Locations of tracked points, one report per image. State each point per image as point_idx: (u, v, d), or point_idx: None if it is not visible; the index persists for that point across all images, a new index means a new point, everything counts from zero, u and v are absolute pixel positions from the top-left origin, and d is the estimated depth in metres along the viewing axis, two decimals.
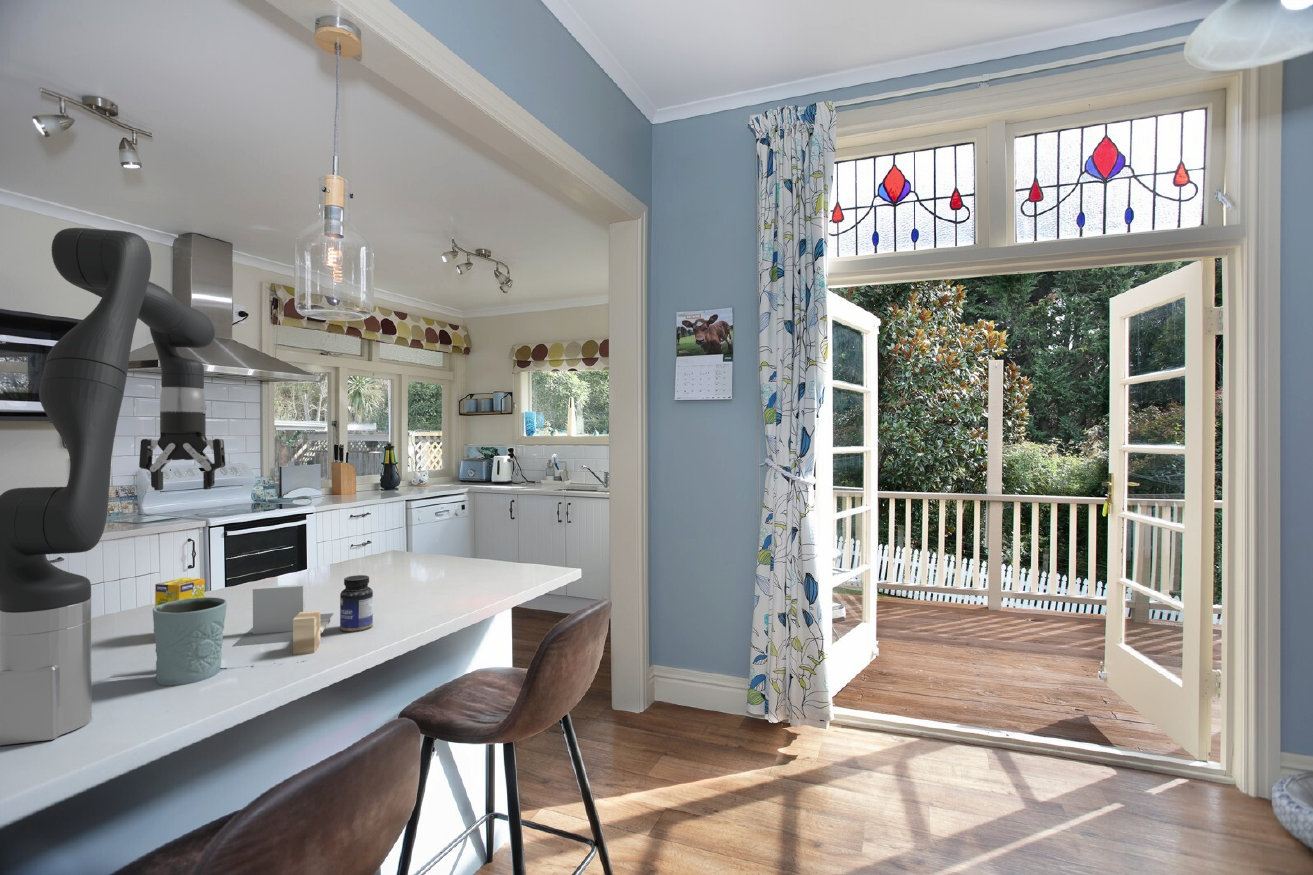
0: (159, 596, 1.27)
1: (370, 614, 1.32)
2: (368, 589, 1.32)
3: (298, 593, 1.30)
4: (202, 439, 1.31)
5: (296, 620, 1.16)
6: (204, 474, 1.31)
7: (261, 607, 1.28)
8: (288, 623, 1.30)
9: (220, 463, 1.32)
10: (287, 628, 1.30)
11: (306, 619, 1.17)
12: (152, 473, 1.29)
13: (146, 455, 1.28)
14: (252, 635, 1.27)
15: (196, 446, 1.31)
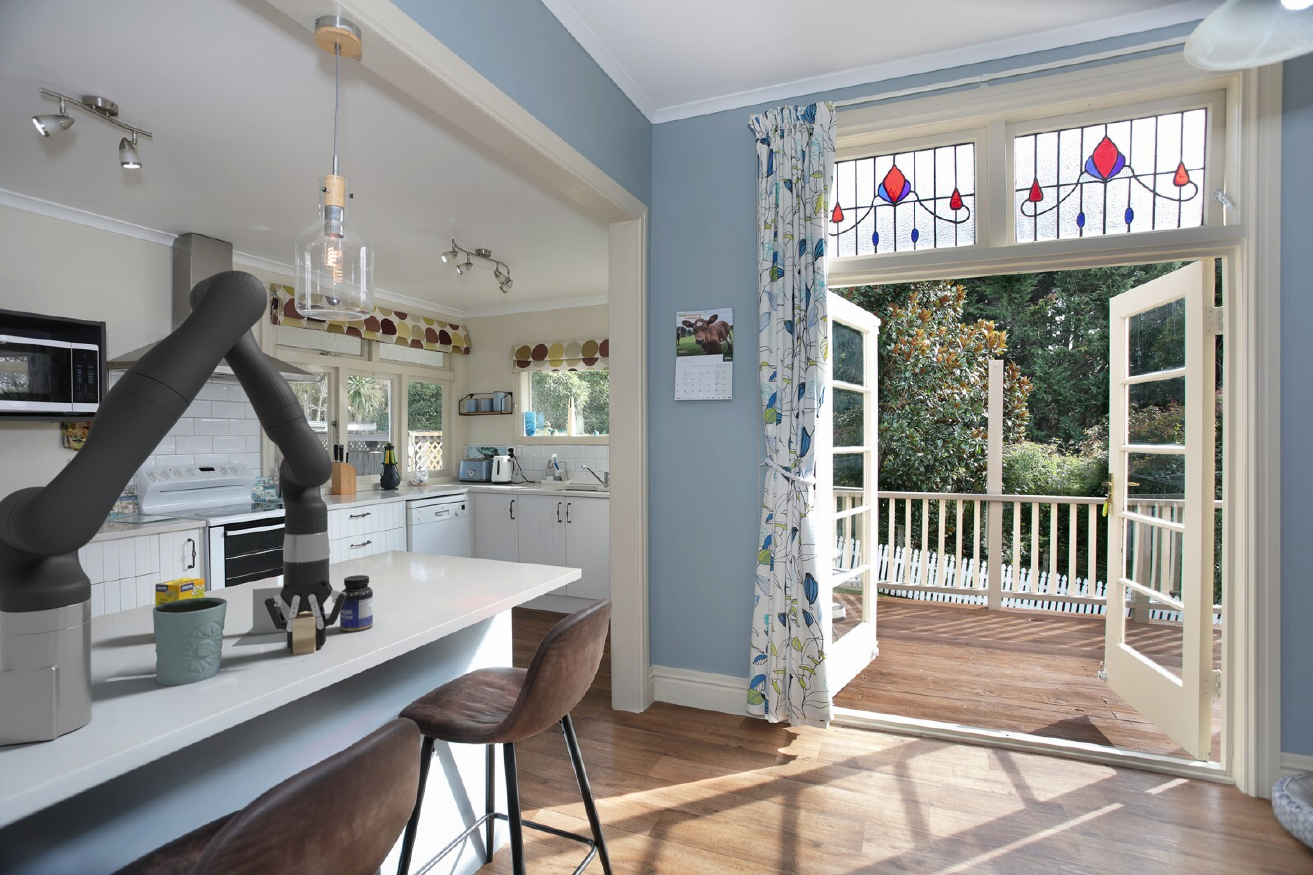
0: (159, 596, 1.27)
1: (370, 614, 1.32)
2: (368, 589, 1.32)
3: None
4: (329, 590, 1.19)
5: (296, 620, 1.16)
6: (316, 633, 1.18)
7: (261, 607, 1.28)
8: None
9: (333, 620, 1.19)
10: None
11: (306, 619, 1.17)
12: (288, 633, 1.17)
13: (277, 614, 1.17)
14: (252, 635, 1.27)
15: (320, 599, 1.19)
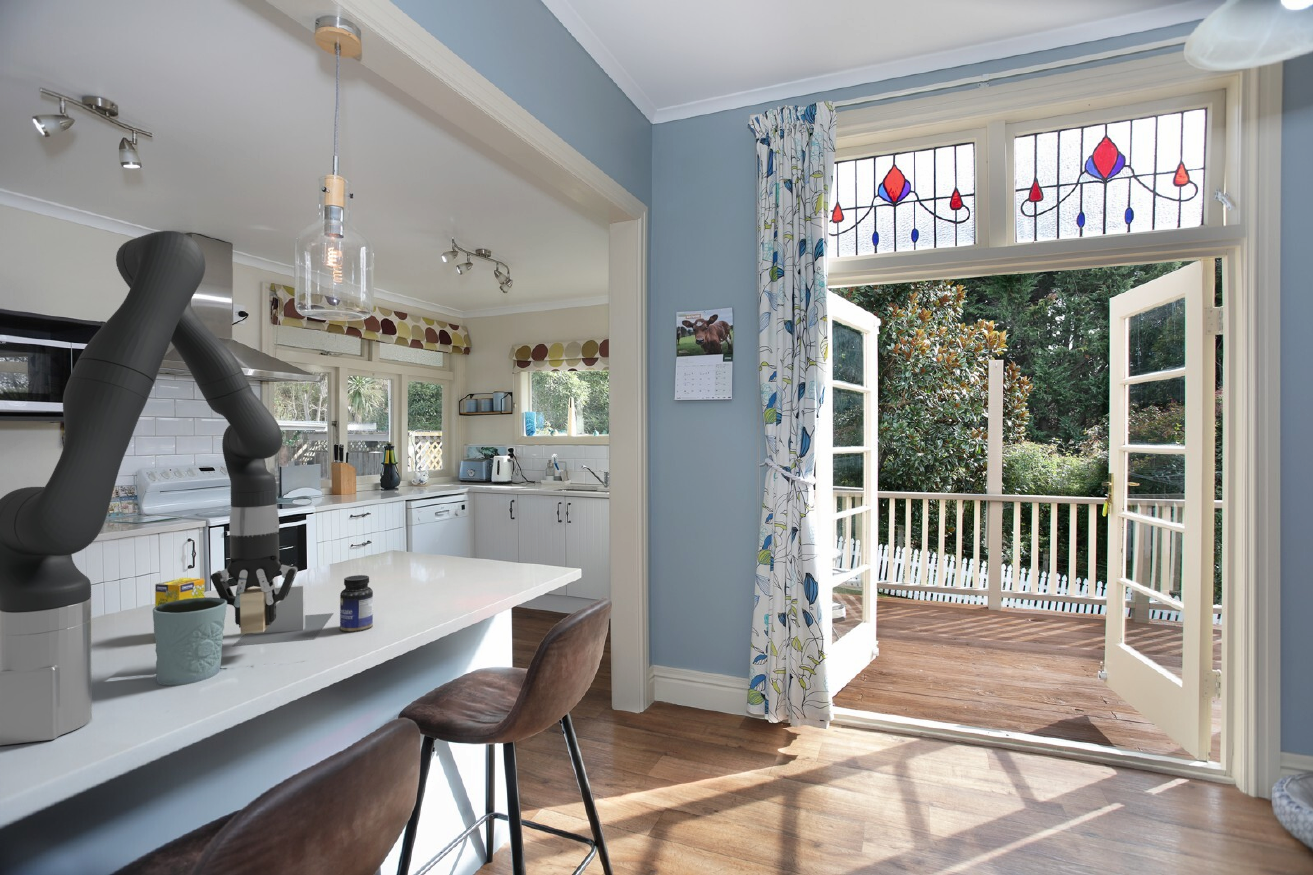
0: (159, 596, 1.27)
1: (370, 614, 1.32)
2: (368, 589, 1.32)
3: (298, 593, 1.30)
4: (278, 564, 1.16)
5: (243, 595, 1.13)
6: (265, 609, 1.15)
7: None
8: (288, 623, 1.30)
9: (283, 595, 1.16)
10: (287, 628, 1.30)
11: (254, 594, 1.13)
12: (236, 608, 1.14)
13: (224, 589, 1.13)
14: (252, 635, 1.27)
15: (269, 574, 1.15)
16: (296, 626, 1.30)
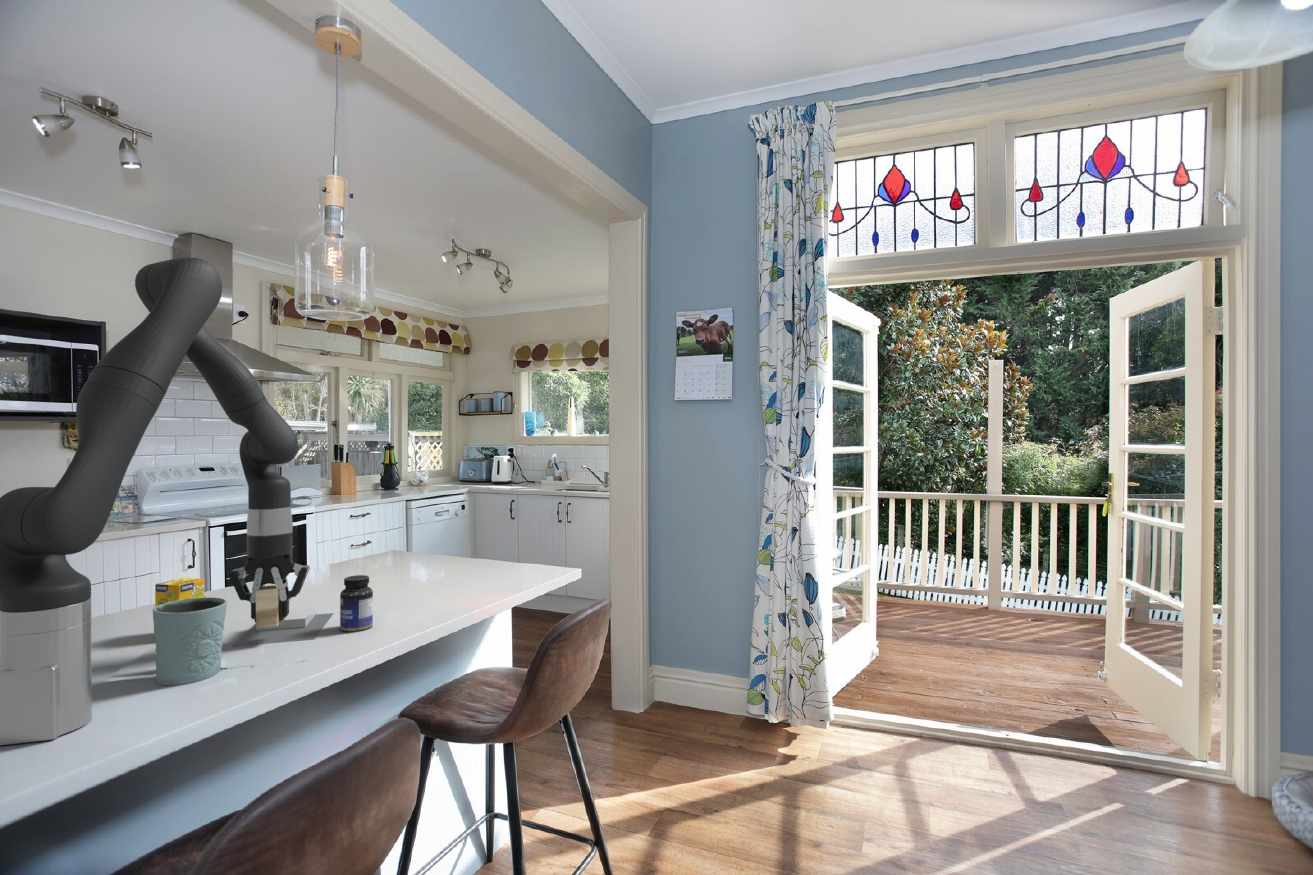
0: (159, 596, 1.27)
1: (370, 614, 1.32)
2: (368, 589, 1.32)
3: (309, 609, 1.39)
4: (291, 563, 1.24)
5: (259, 592, 1.21)
6: (279, 604, 1.23)
7: None
8: (293, 617, 1.33)
9: (296, 592, 1.24)
10: (291, 618, 1.32)
11: (269, 590, 1.21)
12: (252, 604, 1.22)
13: (241, 586, 1.21)
14: (252, 635, 1.27)
15: (283, 572, 1.23)
16: (299, 618, 1.33)
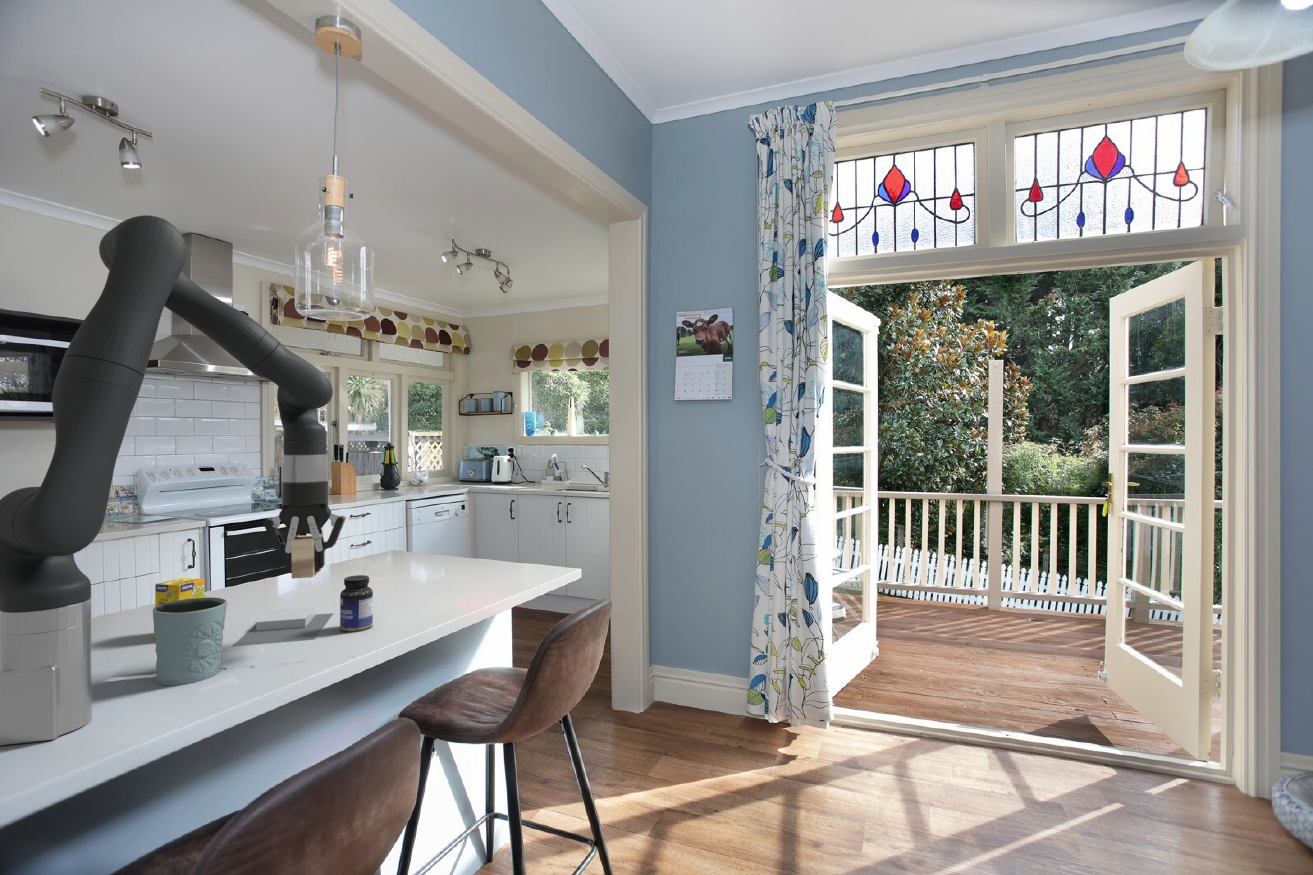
0: (159, 596, 1.27)
1: (370, 614, 1.32)
2: (368, 589, 1.32)
3: (309, 609, 1.39)
4: (327, 512, 1.19)
5: (295, 541, 1.16)
6: (315, 555, 1.18)
7: (271, 614, 1.35)
8: (293, 617, 1.33)
9: (332, 542, 1.19)
10: (291, 618, 1.32)
11: (305, 540, 1.17)
12: (287, 554, 1.17)
13: (275, 535, 1.17)
14: (252, 635, 1.27)
15: (319, 522, 1.19)
16: (299, 618, 1.33)
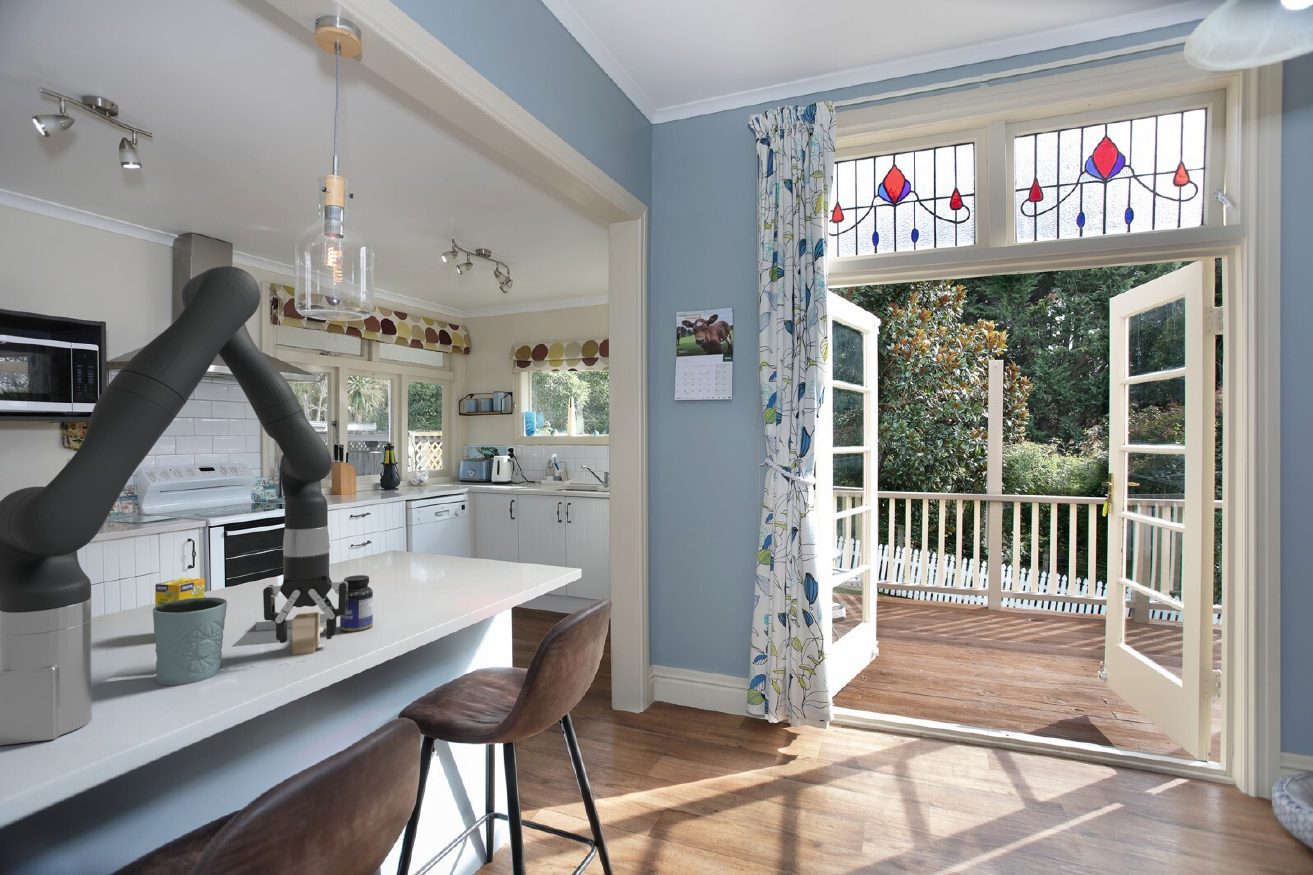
0: (159, 596, 1.27)
1: (370, 614, 1.32)
2: (368, 589, 1.32)
3: (309, 609, 1.39)
4: (328, 583, 1.19)
5: (296, 620, 1.16)
6: (327, 623, 1.19)
7: None
8: (293, 617, 1.33)
9: (344, 610, 1.20)
10: (291, 618, 1.32)
11: (305, 619, 1.17)
12: (277, 624, 1.17)
13: (270, 605, 1.16)
14: (252, 635, 1.27)
15: (321, 592, 1.19)
16: None
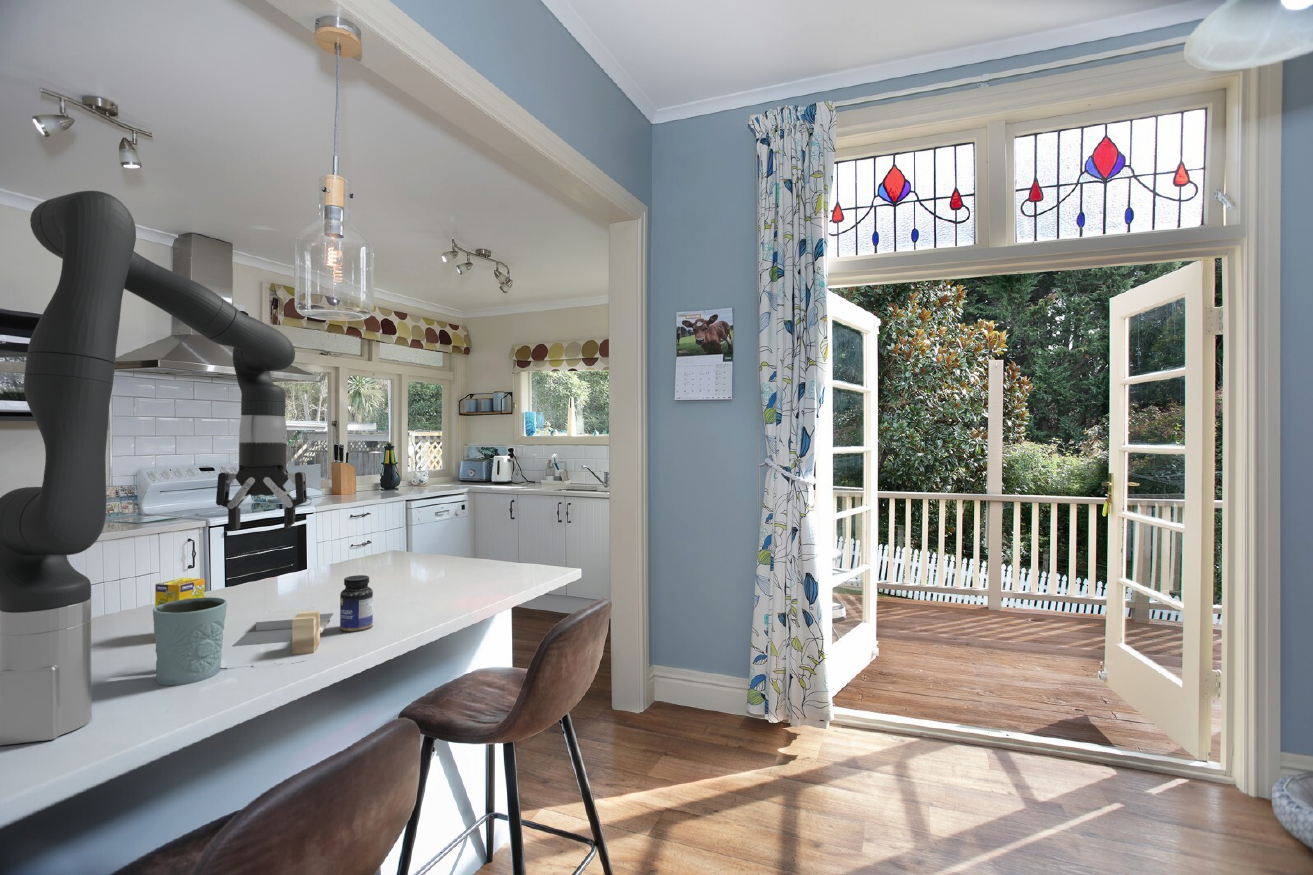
0: (159, 596, 1.27)
1: (370, 614, 1.32)
2: (368, 589, 1.32)
3: (309, 609, 1.39)
4: (283, 472, 1.19)
5: (296, 620, 1.16)
6: (285, 511, 1.18)
7: (271, 614, 1.35)
8: (293, 617, 1.33)
9: (302, 499, 1.19)
10: (291, 618, 1.32)
11: (305, 619, 1.17)
12: (229, 510, 1.16)
13: (223, 490, 1.16)
14: (252, 635, 1.27)
15: (277, 480, 1.18)
16: None
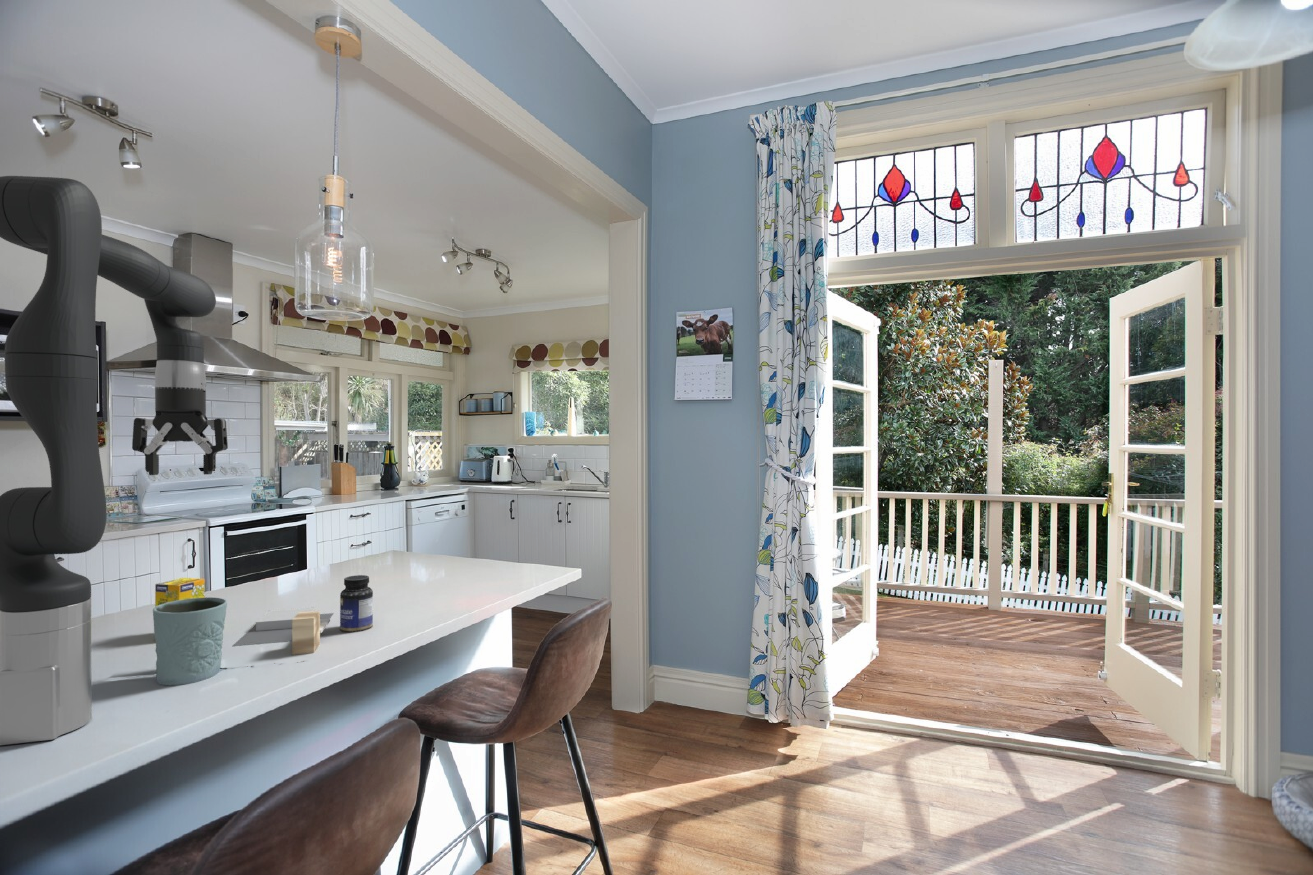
0: (159, 596, 1.27)
1: (370, 614, 1.32)
2: (368, 589, 1.32)
3: (309, 609, 1.39)
4: (202, 418, 1.18)
5: (296, 620, 1.16)
6: (204, 457, 1.18)
7: (271, 614, 1.35)
8: (293, 617, 1.33)
9: (222, 445, 1.19)
10: (291, 618, 1.32)
11: (305, 619, 1.17)
12: (146, 456, 1.16)
13: (140, 436, 1.15)
14: (252, 635, 1.27)
15: (195, 426, 1.18)
16: None
